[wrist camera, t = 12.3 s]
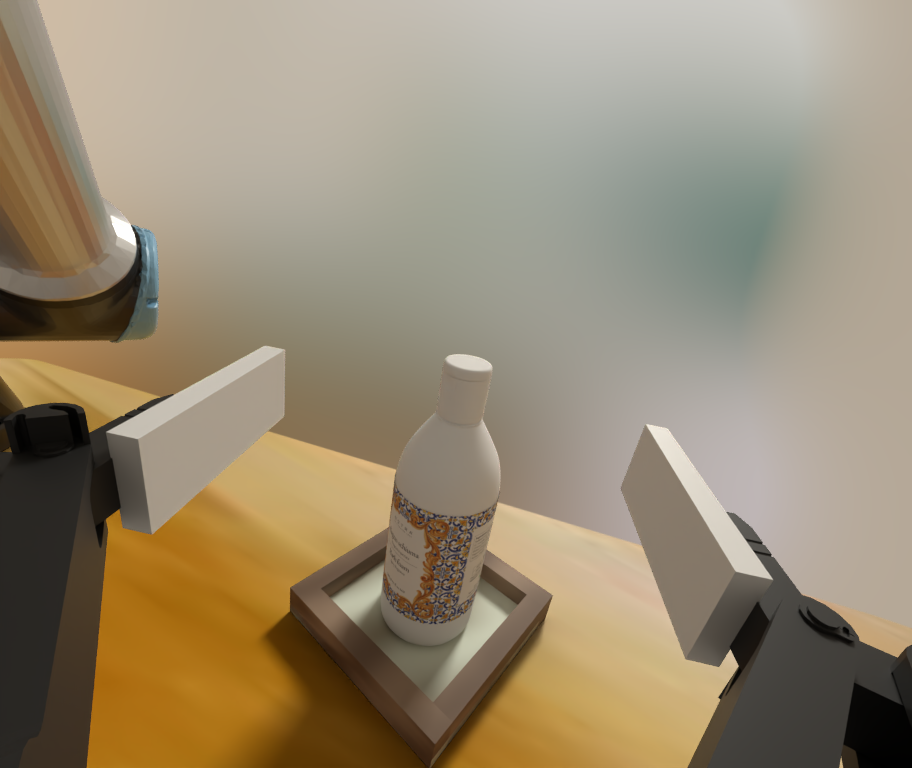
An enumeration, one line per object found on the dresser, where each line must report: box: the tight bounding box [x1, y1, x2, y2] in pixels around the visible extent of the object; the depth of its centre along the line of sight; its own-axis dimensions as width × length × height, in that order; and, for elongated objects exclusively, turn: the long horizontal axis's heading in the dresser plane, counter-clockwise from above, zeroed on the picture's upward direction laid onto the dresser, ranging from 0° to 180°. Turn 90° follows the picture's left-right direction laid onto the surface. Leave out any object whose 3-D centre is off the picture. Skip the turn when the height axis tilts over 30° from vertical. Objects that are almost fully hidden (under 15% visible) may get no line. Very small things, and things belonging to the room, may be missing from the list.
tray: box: [290, 527, 553, 768], centre depth 33 cm, size 14×14×2 cm
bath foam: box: [381, 354, 501, 646], centre depth 29 cm, size 7×7×20 cm
